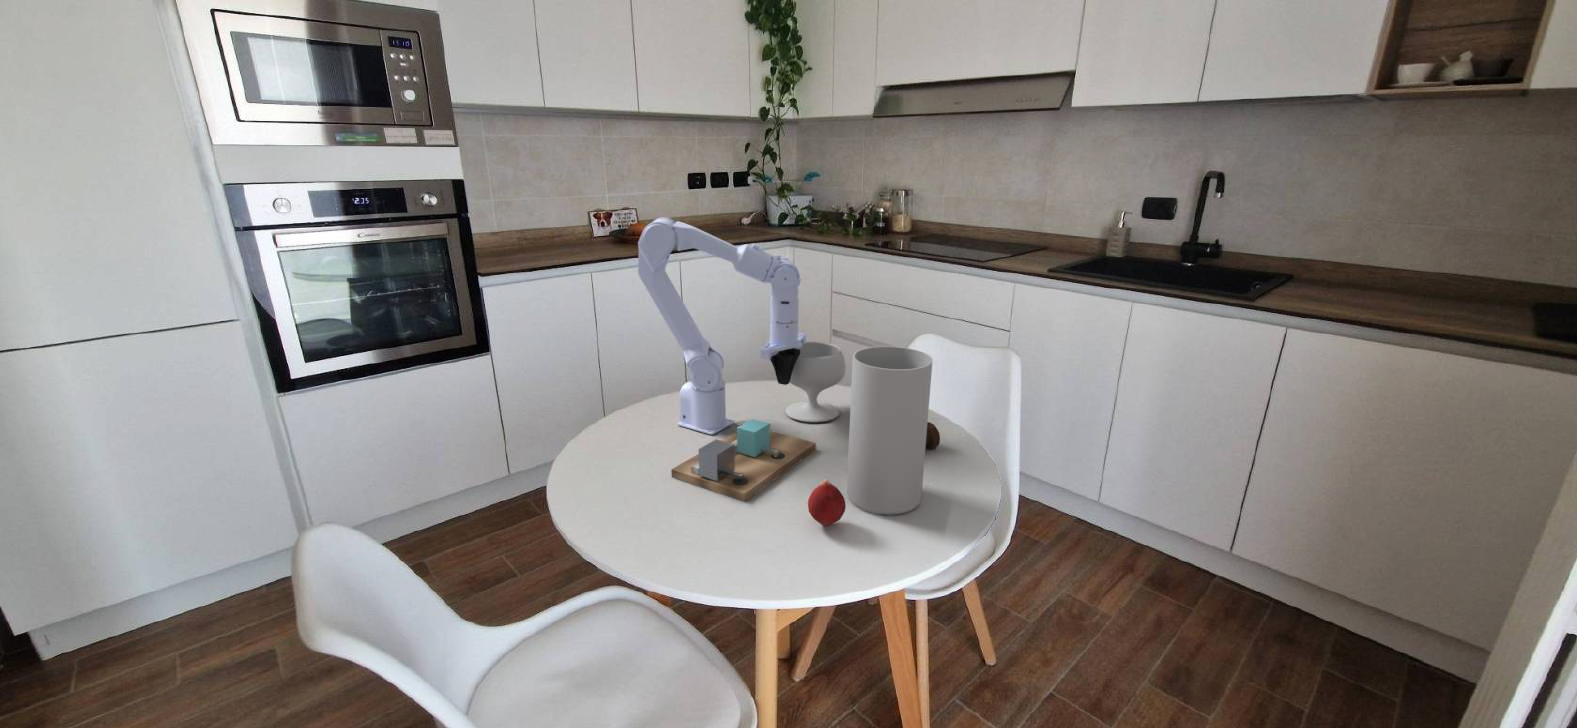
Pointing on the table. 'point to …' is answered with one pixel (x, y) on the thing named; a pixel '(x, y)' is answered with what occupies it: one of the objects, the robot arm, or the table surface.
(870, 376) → the cylinder vase
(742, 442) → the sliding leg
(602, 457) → the table surface
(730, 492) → the board
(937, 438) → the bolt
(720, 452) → the fixed leg
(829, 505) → the onion
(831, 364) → the chalice
